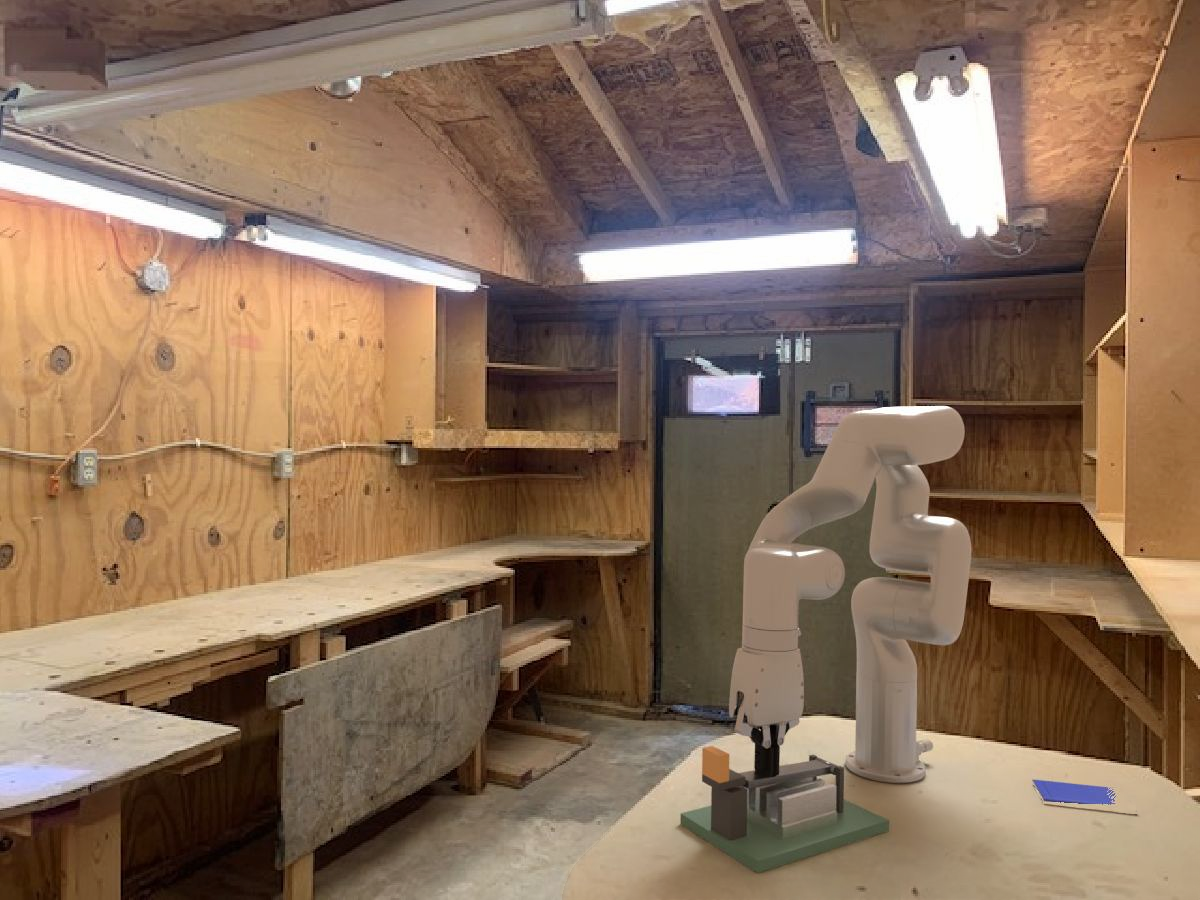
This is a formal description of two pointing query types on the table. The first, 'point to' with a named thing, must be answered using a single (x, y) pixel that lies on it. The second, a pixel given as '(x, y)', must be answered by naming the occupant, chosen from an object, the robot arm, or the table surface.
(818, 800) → the heat sink
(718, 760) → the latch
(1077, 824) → the table surface
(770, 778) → the strap
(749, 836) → the board
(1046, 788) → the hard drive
